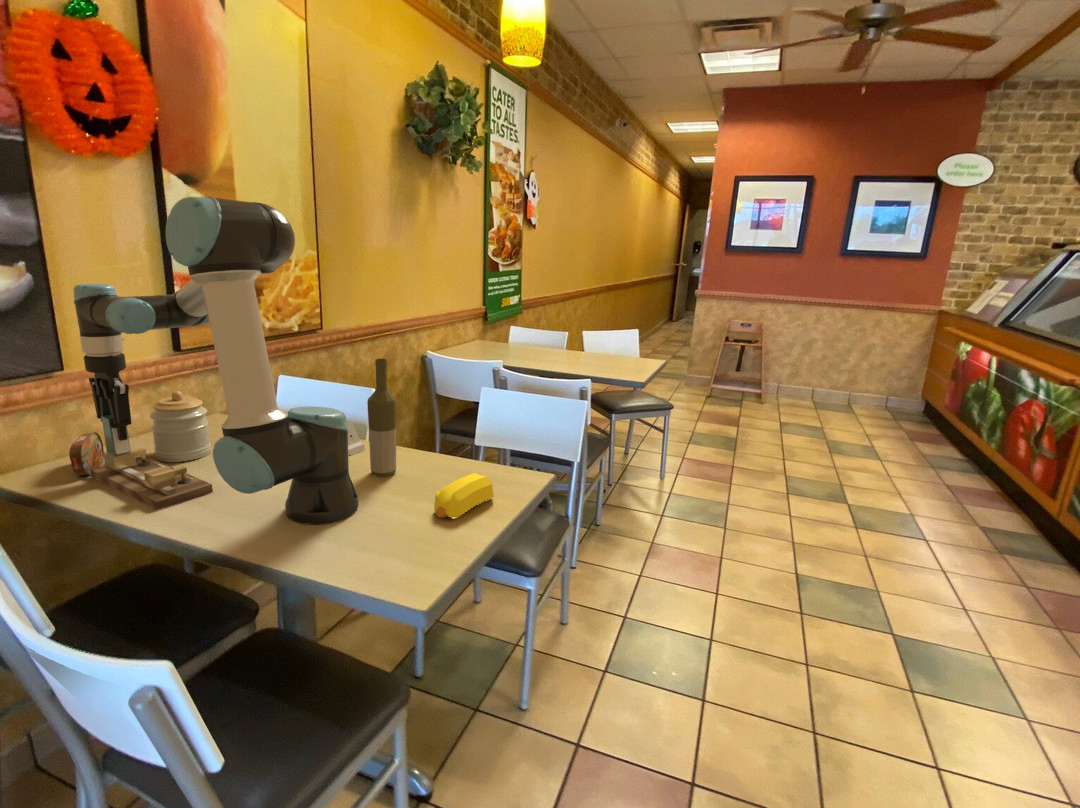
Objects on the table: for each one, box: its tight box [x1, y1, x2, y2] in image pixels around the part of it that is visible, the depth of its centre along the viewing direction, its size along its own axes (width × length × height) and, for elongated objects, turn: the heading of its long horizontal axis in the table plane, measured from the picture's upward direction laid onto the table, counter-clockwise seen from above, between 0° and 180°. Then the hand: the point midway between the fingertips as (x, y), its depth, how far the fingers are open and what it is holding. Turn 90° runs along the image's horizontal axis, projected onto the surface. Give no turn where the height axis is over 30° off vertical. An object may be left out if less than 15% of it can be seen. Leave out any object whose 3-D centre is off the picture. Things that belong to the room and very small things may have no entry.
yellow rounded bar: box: [433, 472, 494, 518], centre depth 132 cm, size 18×7×8 cm
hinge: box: [346, 422, 366, 457], centre depth 159 cm, size 17×5×10 cm, turn 153°
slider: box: [101, 415, 147, 470], centre depth 138 cm, size 5×8×13 cm, turn 149°
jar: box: [149, 390, 212, 463], centre depth 153 cm, size 13×13×18 cm
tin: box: [68, 431, 105, 477], centre depth 142 cm, size 15×3×8 cm, turn 22°
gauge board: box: [90, 455, 214, 511], centre depth 135 cm, size 30×12×6 cm, turn 59°
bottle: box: [366, 358, 397, 477], centre depth 145 cm, size 7×7×30 cm
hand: (118, 450), depth 137 cm, fingers closed on slider, 3 cm apart
